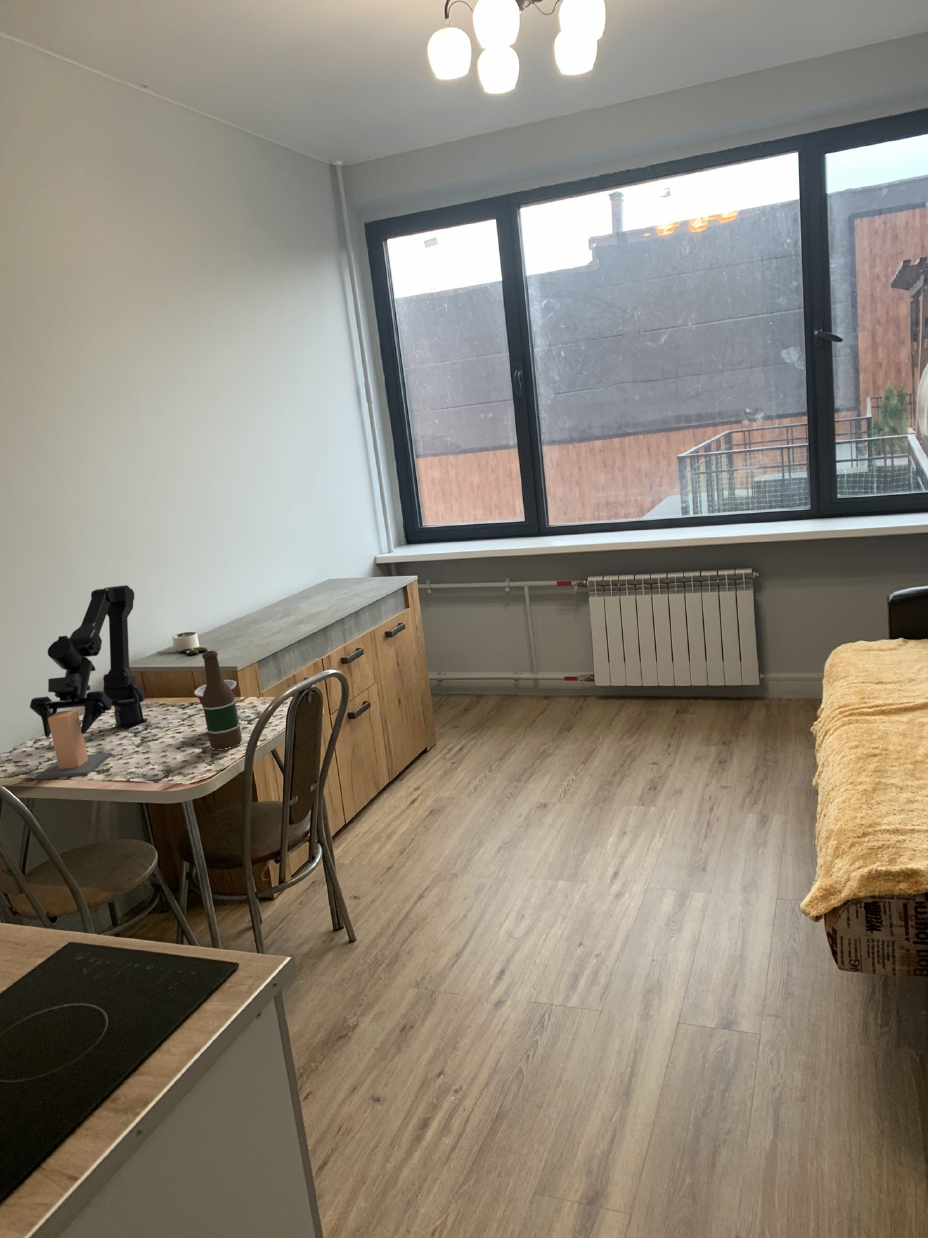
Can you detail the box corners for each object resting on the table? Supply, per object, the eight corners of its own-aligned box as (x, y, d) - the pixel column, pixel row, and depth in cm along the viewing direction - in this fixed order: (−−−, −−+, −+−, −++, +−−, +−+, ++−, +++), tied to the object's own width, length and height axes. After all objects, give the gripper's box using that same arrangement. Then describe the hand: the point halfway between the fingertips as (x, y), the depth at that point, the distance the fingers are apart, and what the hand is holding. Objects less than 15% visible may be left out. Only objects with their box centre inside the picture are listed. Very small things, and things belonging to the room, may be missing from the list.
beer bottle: (248, 739, 233) (231, 647, 228) (231, 750, 226) (213, 655, 221) (222, 739, 236) (205, 648, 231) (204, 751, 229) (186, 656, 224)
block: (69, 761, 232) (58, 711, 229) (88, 759, 231) (77, 709, 229) (59, 768, 227) (47, 718, 224) (78, 766, 226) (67, 716, 224)
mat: (62, 760, 236) (62, 757, 236) (111, 755, 235) (110, 752, 235) (35, 779, 223) (35, 776, 223) (87, 774, 222) (86, 771, 222)
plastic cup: (193, 736, 242) (185, 692, 239) (218, 722, 252) (210, 680, 249) (228, 737, 238) (219, 692, 235) (252, 722, 247) (244, 679, 245)
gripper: (24, 666, 229) (10, 724, 220) (96, 659, 227) (85, 716, 219) (48, 688, 238) (35, 743, 230) (117, 681, 236) (107, 736, 228)
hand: (64, 734), depth 226 cm, fingers open, 9 cm apart
